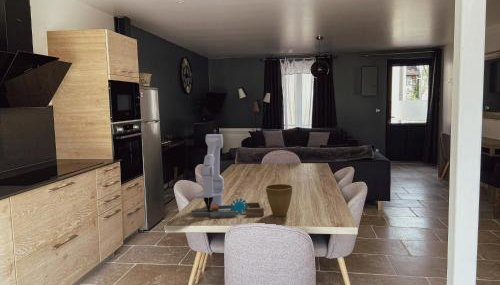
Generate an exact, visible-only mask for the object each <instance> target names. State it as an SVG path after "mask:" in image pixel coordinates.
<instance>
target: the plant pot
mask: <svg viewBox="0 0 500 285" xmlns="http://www.w3.org/2000/svg"><path fill="white" fill-rule="evenodd" d="M265 192H266V197H267V201H268V204H269V207H270V210H271V212H272V215H273V216H275V217H286V216H287V214H288V211H289V208H290V205H291V201H292V195H293V185H292V184H285V183H279V184H278V183H275V184H269V185H268V184H267V185H266V186H265Z"/></svg>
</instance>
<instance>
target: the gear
mask: <svg viewBox="0 0 500 285" xmlns="http://www.w3.org/2000/svg"><path fill="white" fill-rule="evenodd" d="M235 200H236V201H235ZM235 200H232V203H230V205H231V206H233V207H234V208H232V207H231V210H232V209H235V210H232V211H236V215H238V214H240V215H242V214H243V213H245V212H246V213H247V209H246V208H249V206H248V207H247V203H248V202H246V200H245V199H243V198H235ZM245 205H246V206H245Z"/></svg>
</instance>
